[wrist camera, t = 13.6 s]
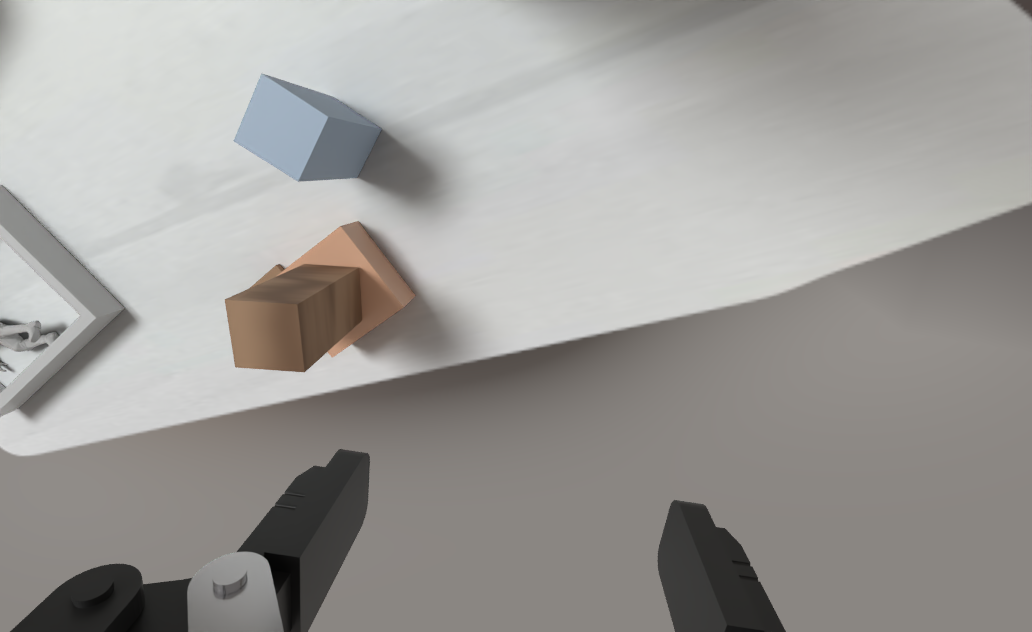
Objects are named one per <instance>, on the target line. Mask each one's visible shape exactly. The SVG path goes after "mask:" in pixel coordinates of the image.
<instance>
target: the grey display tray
mask: <svg viewBox="0 0 1032 632" xmlns="http://www.w3.org/2000/svg"><path fill="white" fill-rule="evenodd" d="M0 238H1V239H2V240H3V241H4V242H5V243H6V244H7V245H8V246H9V247H10V248H11V249H12V250H13V251H14V252H15V253H16V254H17V255H18V256H19V257H21V258H22V259H23V260H24V261H25V262H26V263H27V264H28V265H29V266H30V267H31V268H32V269H33V270H34V271H35V272H36V273H37V274H38V275H39V276H40V277H41V278H42V279H43V280H44V281H45V282H46V283H47V284H48V285H49V286H50V287H51V288H52V289H54V290H55V291H56V292H57V293H58V294H59V295H60V296H61V297H62V298H63V299H64V300H65V301H66V302H67V303H68V304H69V305H70V306H71V307H72V308H73V309H74V310H75V311H76V312H77V313H78V314H79V315H80V316H79V317H78V318H77V319H76V320H75V321H74V322H73V323H72V324H71V325H70V326H69V327H68V328H67V329H66V330H65V331H64V332H63V333H62V334H61V335H60V336H59V337H58V338H57V339H56V340H55V341H54V342H53V343H52V344H51V345H50V346H48V347H47V348H46V349H45V350H44V351H43V352H42V353H41V354H40V355H39V356H38V357H37V358H36V359H35V360H34V361H33V362H32V363H31V364H30V365H29V366H28V367H27V368H26V369H25V370H24V371H23V372H22V373H21V374H20V375H19V376H17V377H16V378H15V379H14V380H13V381H12V382H11V383H10V384H9V385H8V386H7V387H6V388H5V387H4V386H3V385H2V384H1V383H0V417H1V416H3V415H6V414H8V413H10V412H12V411H14V410H16V409H18V408H19V407H20V406H21V405H22V404H24V403H25V402H26V401H27V400H28V399H29V398H30V397H31V396H32V395H33V394H34V393H35V392H36V391H37V390H38V389H39V388H41V387H42V386H43V385H44V384H45V383H46V382H47V381H48V380H49V379H50V378H51V377H52V376H53V375H54V374H55V373H57V372H58V371H59V370H60V369H61V368H62V367H63V366H64V365H65V364H66V363H67V362H68V361H69V360H70V359H71V358H72V357H74V356H75V355H76V354H77V353H78V352H79V351H80V350H81V349H82V348H83V347H84V346H85V345H86V344H87V343H88V342H90V341H91V340H92V339H93V338H94V337H95V336H96V335H97V334H98V333H99V332H100V331H101V330H102V329H103V328H104V327H105V326H107V325H108V324H109V323H110V322H111V321H112V320H113V319H114V318H115V317H116V316H117V315H118V314H119V313H120V312H121V311H122V310H124V309H125V308H124V307H123V306H122V305H121V304H120V303H119V302H118V301H117V300H116V299H115V298H114V297H113V296H112V295H111V294H110V293H109V292H108V291H107V290H106V289H105V288H104V287H103V286H102V285H101V284H100V283H99V282H98V281H97V280H96V279H95V278H94V277H93V276H92V275H91V274H90V273H89V272H88V271H87V270H86V269H85V268H84V267H83V266H82V265H81V264H80V263H79V262H78V261H77V260H76V259H75V258H74V257H73V256H72V255H71V254H70V253H69V252H68V251H67V250H66V249H65V248H64V247H63V246H62V245H61V244H60V243H59V242H58V241H57V240H56V239H55V238H54V237H53V236H52V235H51V234H50V233H49V232H48V231H47V230H46V229H45V228H44V227H43V226H42V225H41V224H40V223H39V222H38V221H37V220H36V219H35V218H34V217H33V216H32V215H31V214H30V213H29V212H28V211H27V210H26V209H25V208H24V207H23V206H22V205H21V204H20V203H19V202H18V201H17V200H16V199H15V198H14V197H13V196H12V195H11V194H10V193H9V192H8V191H7V190H6V189H5V188H4V187H3V186H2V185H0Z"/></svg>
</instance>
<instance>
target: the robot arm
mask: <svg viewBox="0 0 1032 632" xmlns="http://www.w3.org/2000/svg"><path fill="white" fill-rule="evenodd" d="M369 466H370V457H369V454H368V453H362V452H355V451H349V450H343V449H340V450H338V451H337V452H336V454H335V455H334V456H333V458H332V459H331V461H330V462H329V463H328V465H327V466H326V467H320V466H313V467H312V468H310V469H309V470H307V471H306V472H304V473H303V474H301V475H299V476H298V477H296V478H295V480H294V481H293V482H292V483H291V485H290V486H289V487H288V489H287V490H286V491H285V494H283V495H282V496H281V497H280V498H279V500H278V501H277V502H276V504H275V507H272V508H271V510H270V511H269V512H268V513H267V515H266V516H265V517H264V518H263V520H262V521H261V522H260V523H259V525H258V526H257V527H256V528H255V530H254V531H253V532H252V533H251V535H250V536H249V537H248V538H247V540H246V541H245V542H244V543H243V545H242V546H241V547H240V548H239V550H238V551H237V552H235V553H231V554H227V555H224V556H221V557H219V558H217V559H215V560H213V561H211V562H209V563H208V564H206V565H205V566H204V567H202V568H201V569H200V570H199V571H198V572H197V573H196V574H195V575H194V577H193V578H190V579H184V580H176V581H169V582H160V583H152V584H143V581H142V576H141V573H140V572H139V570H138V569H136V568H135V567H133V566H131V565H126V564H109V565H104V566H100V567H97V568H93V569H90V570H87V571H85V572H83V573H81V574H79V575H76V576H75V577H73V578H71V579H69V580H68V581H66V582H65V583H63V584H62V585H61V586H59V587H58V588H57V589H56V590H55V591H53V592H52V593H51V594H50V595H49V596H48V597H47V598H46V599H45V600H44V601H43V602H42V603H41V604H39V605H38V606H37V607H36V608H35V609H34V610H33V611H32V612H31V613H30V614H29V615H28V616H27V617H25V619H23V620H22V621H21V622H20V623H19V624H18V625H17V626H16V627H15V628H14V629H13V630H12V631H10V632H308V630H309V628H310V626H311V624H312V622H313V620H314V618H315V616H316V615H317V613H318V611H319V608H320V607H321V605H322V603H323V601H324V599H325V597H326V595H327V593H328V591H329V589H330V587H331V585H332V583H333V581H334V579H335V577H336V575H337V574H338V572H339V570H340V568H341V566H342V564H343V562H344V560H345V558H346V556H347V554H348V552H349V550H350V548H351V546H352V544H353V542H354V540H355V538H356V536H357V534H358V532H359V531H360V529H361V526H362V524H363V521H364V518H365V515H366V510H367V504H368V487H369ZM658 570H659V575H660V579H661V582H662V586H663V589H664V593H665V597H666V600H667V604H668V607H669V611H670V615H671V618H672V622H673V625H674V629H675V632H786V631H785V629H784V627H783V626H782V624H781V622H780V620H779V618H778V616H777V614H776V612H775V610H774V608H773V606H772V604H771V602H770V600H769V598H768V596H767V594H766V593H765V591H764V589H763V587H762V585H761V583H760V582H758V577H757V575H756V573H755V571H754V569H753V567H751V566H750V561H749V560H748V558H747V556H746V554H745V552H744V550H743V548H742V546H741V545H740V544H739V543H738V541H737V540H736V539H735V538H734V537H733V536H732V535H731V534H730V533H729V532H728V531H727V530H726V529H725V528H718V527H716V526H715V524H714V522H713V520H712V518H711V516H710V514H709V512H708V509H707V508H706V506H705V505H703V504H697V503H691V502H684V501H677V500H674V501H673V502H672V503H671V506H670V509H669V513H668V516H667V520H666V523H665V527H664V531H663V534H662V538H661V541H660V545H659V551H658Z"/></svg>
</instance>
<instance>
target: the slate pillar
mask: <svg viewBox="0 0 1032 632" xmlns="http://www.w3.org/2000/svg"><path fill="white" fill-rule="evenodd" d="M381 130H382V129H381V128H380V127H378V126H377V125H375V124H374V123H372V122H370V121H369V120H367V119H366V118H364V117H363V116H361V115H360V114H358V113H357V112H355V111H354V110H352V109H351V108H349V107H348V106H346V105H345V104H343V103H341V102H340V101H338V100H337V99H335V98H334V97H332V96H329V95H326V94H323V93H320V92H317V91H314V90H311V89H308V88H305V87H302V86H298V85H295V84H292V83H289V82H286V81H283V80H280V79H277V78H274V77H271V76H268V75H265V74H261V76H260V79H259V81H258V83H257V86H256V88H255V91H254V93H253V95H252V98H251V100H250V103H249V105H248V108H247V110H246V112H245V115H244V117H243V120H242V122H241V125H240V127H239V129H238V132H237V134H236V137H235V139H234V142H236V143H238V144H239V145H241V146H242V147H244V148H246V149H247V150H249V151H250V152H252V153H253V154H255V155H257V156H258V157H260V158H261V159H263V160H265V161H266V162H268V163H269V164H271V165H273V166H274V167H276V168H277V169H279V170H281V171H282V172H284V173H285V174H287V175H289V176H290V177H292V178H293V179H295V180H297V181H314V180H330V179H347V178H357V177H358V175H359V173H360V171H361V169H362V167H363V165H364V163H365V161H366V159H367V158H368V156H369V154H370V152H371V150H372V148H373V146H374V144H375V142H376V140H377V138H378V136H379V134H380V132H381Z"/></svg>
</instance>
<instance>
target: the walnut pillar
mask: <svg viewBox="0 0 1032 632" xmlns="http://www.w3.org/2000/svg"><path fill="white" fill-rule="evenodd" d="M225 304H226V311H227V317H228V323H229V330H230V336H231V342H232V349H233V355H234V362H235V367H239V368H253V369H267V370H281V371H295V372H305V371H306V370H307V369H309V368H310V367H311V366H312V365H313V364H314V363H315V362H316V361H318V360H319V359H320V358H321V357H322V356H323V355H324V354H325V353H326V352H328V351H329V350H330V349H331V348H332V347H333V346H334V345H335V344H337V343H338V342H339V341H340V340H341V339H342V338H343V337H344V336H345V335H347V334H348V333H349V332H350V331H351V330H352V329H353V328H354V327H355V326H357V325H358V324H359V323H360V322H361V321H362V306H361V290H360V273H359V267H345V266H329V265H312V264H303V265H301V266H299V267H296V268H294V269H292V270H290V271H287V272H285V273H283V274H281V275H279V276H276V277H274V278H272V279H270V280H267V281H265V282H263V283H261V284H259V285H256V286H254V287H252V288H250V289H247V290H245V291H243V292H241V293H239V294H236V295H234V296H232V297H230V298H227V299H225Z"/></svg>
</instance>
